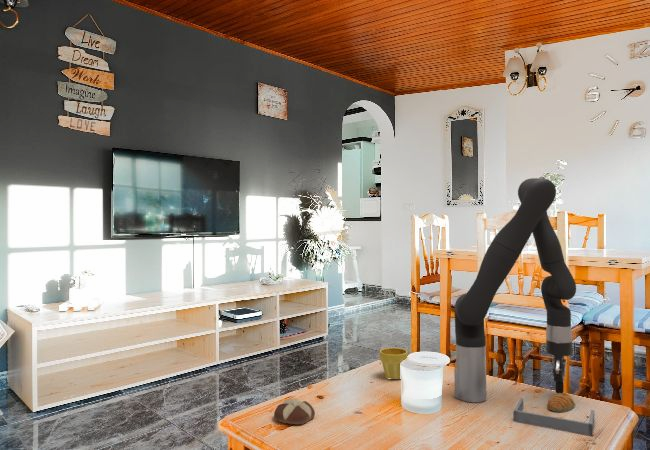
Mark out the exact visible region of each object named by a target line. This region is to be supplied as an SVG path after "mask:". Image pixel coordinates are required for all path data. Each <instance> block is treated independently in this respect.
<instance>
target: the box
mask: <svg viewBox="0 0 650 450" xmlns="http://www.w3.org/2000/svg"><path fill="white" fill-rule="evenodd" d="M523 410H524V398H519V400H518V401H517V403H516V405H515V407H514V409H513V412H512V413H513V422H516V423H523V424H527V425H533V426H537V427H544V428H548V429H552V430H556V431H557V430H558V431H563V432H568V433H574V434H579V435H583V436H584V435H585V436H589V437H592V436H593V433H594V427H595V409H590V413H589V418H588V419H589V420H588V422H585V421H578V420H574V419H569V418H563V417H556V416H551V415H545V414H540V413H535V412H529V411H523Z"/></svg>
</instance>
